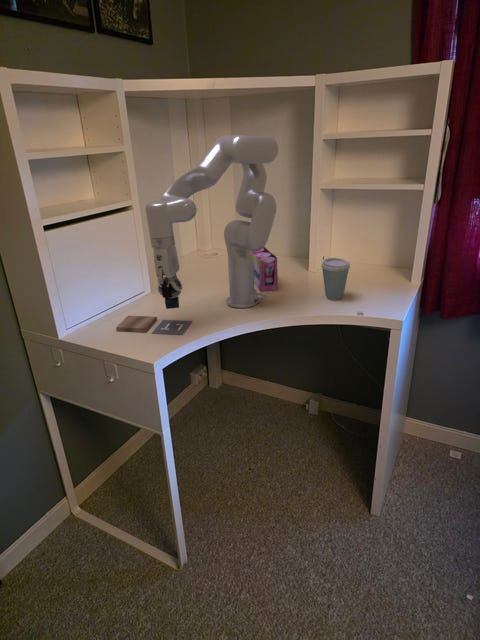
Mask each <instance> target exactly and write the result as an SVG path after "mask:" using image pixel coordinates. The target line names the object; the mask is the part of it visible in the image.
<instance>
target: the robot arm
mask: <svg viewBox="0 0 480 640" xmlns="http://www.w3.org/2000/svg"><path fill="white" fill-rule="evenodd" d="M278 154H279V144H278V142H277V141H276V139H275V138H274V137H272V136H270V135H268V136H267V135H261V136H260V135H243V134H242V135H241V134H234V135H233V134H231V135H230V134H229V135H228V134H227V135H226V134H225V135H221V136H219V137H218V138H217V139H215V141H214V142H213V143H212V145H210V147H209V148H208V149H207V151H206V152H205V153H204V155H203V156H202V157H201V159H200V160H198V162H197V163H196V165H195V166H194V167H192V168H191V169H190V170H188V171H187V172H185V173H184V174H183V175H181V176H180V177H178V178H177V179H176V180H175V181H173V183H171V184H170V186H169V187H168V188H167V189H166V191H165V192H164V193H163V195H162V196H161V197H160V200H153V201H150V202H147V203H146V204H145V206H144V207H145V214H146V221H147V226H148V233H149V239H150V245H151V248H152V250H153V263H154V270H155V275H156V278H157V283H158V282H159V283H160V287H161V290H162V295H161V297H162V298H163V299H165V298H172V291H177V290H175V289H174V288H173V286H172V284H170V283H169V278H172V277H174V276H175V277H177V278H178V276H177V273H178V272H179V271H180V262H179V257H178V252H177V248H176V240H175V235H174V234H175V233H174V225H173V224H175V223H187V222H189V221H193V219H194V218H195V216H196V214H197V212H198V210H197V204H196V203H195V202H194V201H193V200H192V199H190V197H192V196H193V195H194V194H196V193H198V192H202V191H205V190H207V189H209V188H212V187H213V186H215V185H216V184H217V183H218V182H219V180H220V179H221V177H222V176H223V175H224V174H225V173H226V172H227V170H228V169H229V167H230V166H231V165H232V164H240V165H241V167H242V172H243V173H242V174H243V175H242V181H241V185H240V188H239V192H238V195H237V199H236V203H235V211H236V213H237V215H239V216H240V217H242V218H246V219H251V221H246V220H239V219H235V220H231V221H229V222H228V223H227V224H226V226H225V228H224V230H223V240H224V243H225V248H226V252H227V265H228V266H227V267H228V269H227V270H228V282H229V283H228V284H229V285H228V286H229V296H228V297H227V298H226V300H225V303H226V305H228V306H229V307H231V308H235V309H247V308H251V307H254V306H257V305H258V304H259V300H263V301H265V300H266V299H267V298H266V297H267V295H266V294H264V293H263V292H260V293H259V292H257V289H256V288H255V284H254V261H253V254H252V251H259V250H261V249H263V248H264V247H266V245H267V244H268V240H269V237H270V234H271V231H272V228H273V225H274V220H275V219H276V214H277V202H276V199H275V197H274V196H273V195H272V194H271V193H268V192H265V188H266V185H267V175H268V174H267V170H266V168H265V166H264V164H270V163H273V162H274V161H275V159H276V158H277V157H278ZM163 279H167V282H166V281H164V280H163Z"/></svg>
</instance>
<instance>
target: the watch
mask: <svg viewBox="0 0 480 640" xmlns="http://www.w3.org/2000/svg"><path fill="white" fill-rule="evenodd" d="M163 280H164V281H166V282H167V279H163ZM169 283H170V284H172V286H173V288H174V289H175V290H177V291H172V298H164V304H165V309H166V310H169V309H171V310H172V309H178V308H180V302H179V301H180V299H179V298H180V297H179V296H180V295H181V294H182V290H183V286H182V285H183V284H182V282H181V280H180V279H179V278H178V276H177V277H175V276H174V277H172V278H169ZM157 291H158V293H159V294H160V296H162V290H161V286H160V283H159V282H158V281H157Z"/></svg>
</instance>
